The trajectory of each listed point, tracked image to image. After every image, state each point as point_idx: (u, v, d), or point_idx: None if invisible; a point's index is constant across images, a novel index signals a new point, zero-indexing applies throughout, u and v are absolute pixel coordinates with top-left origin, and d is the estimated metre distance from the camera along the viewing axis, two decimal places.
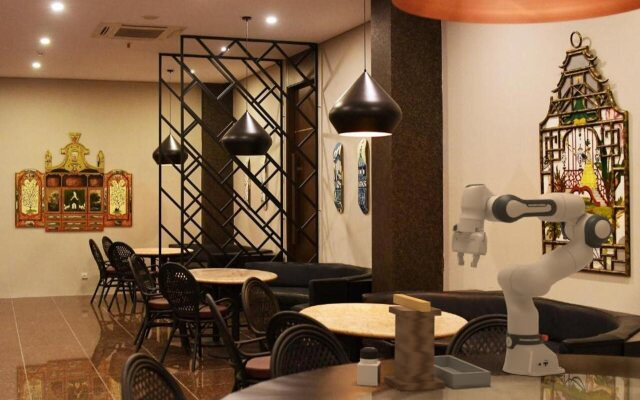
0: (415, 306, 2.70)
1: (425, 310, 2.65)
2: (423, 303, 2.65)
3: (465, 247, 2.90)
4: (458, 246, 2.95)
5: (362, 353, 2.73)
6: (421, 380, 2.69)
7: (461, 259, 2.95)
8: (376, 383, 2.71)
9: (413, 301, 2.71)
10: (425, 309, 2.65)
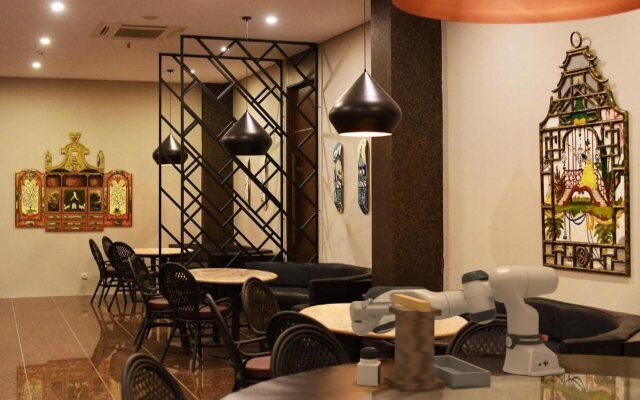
0: (415, 306, 2.70)
1: (425, 310, 2.65)
2: (423, 303, 2.65)
3: None
4: None
5: (362, 353, 2.73)
6: (421, 380, 2.69)
7: None
8: (376, 383, 2.71)
9: (413, 301, 2.71)
10: (425, 309, 2.65)
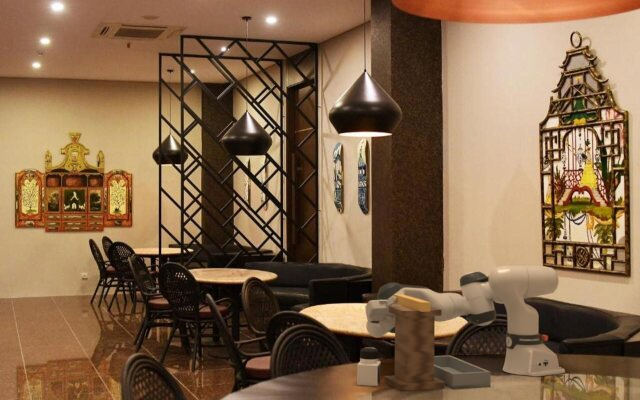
0: (415, 306, 2.70)
1: (425, 310, 2.65)
2: (423, 303, 2.65)
3: None
4: None
5: (362, 353, 2.73)
6: (421, 380, 2.69)
7: None
8: (376, 383, 2.71)
9: (413, 301, 2.71)
10: (424, 309, 2.65)
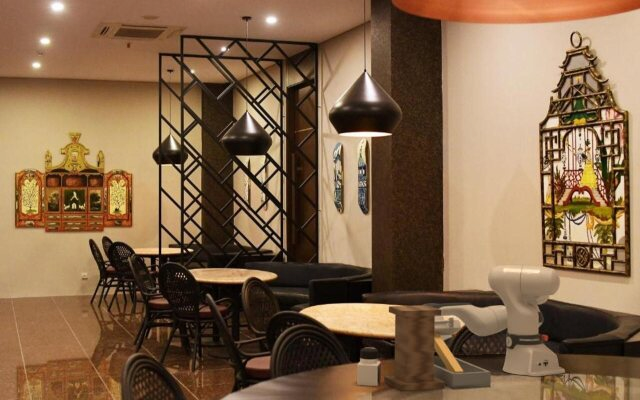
0: (448, 366, 2.84)
1: None
2: (456, 372, 2.78)
3: None
4: None
5: (362, 353, 2.73)
6: (421, 380, 2.69)
7: None
8: (376, 383, 2.71)
9: (447, 360, 2.84)
10: None
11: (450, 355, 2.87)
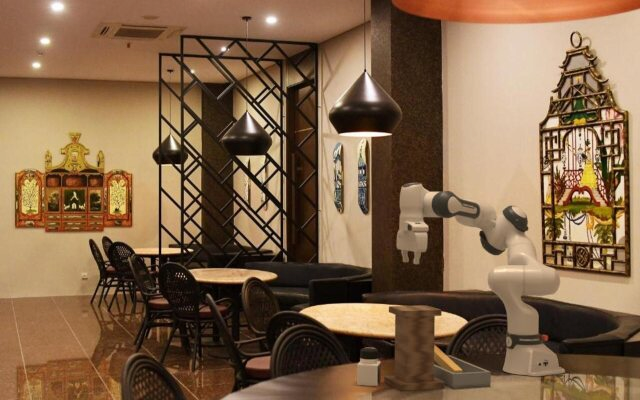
0: (447, 369, 2.84)
1: None
2: (455, 371, 2.79)
3: None
4: None
5: (362, 353, 2.73)
6: (421, 380, 2.69)
7: None
8: (376, 383, 2.71)
9: (446, 363, 2.85)
10: None
11: (448, 359, 2.88)
